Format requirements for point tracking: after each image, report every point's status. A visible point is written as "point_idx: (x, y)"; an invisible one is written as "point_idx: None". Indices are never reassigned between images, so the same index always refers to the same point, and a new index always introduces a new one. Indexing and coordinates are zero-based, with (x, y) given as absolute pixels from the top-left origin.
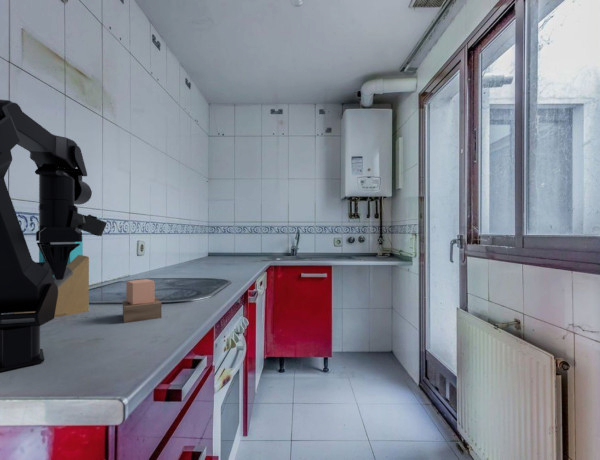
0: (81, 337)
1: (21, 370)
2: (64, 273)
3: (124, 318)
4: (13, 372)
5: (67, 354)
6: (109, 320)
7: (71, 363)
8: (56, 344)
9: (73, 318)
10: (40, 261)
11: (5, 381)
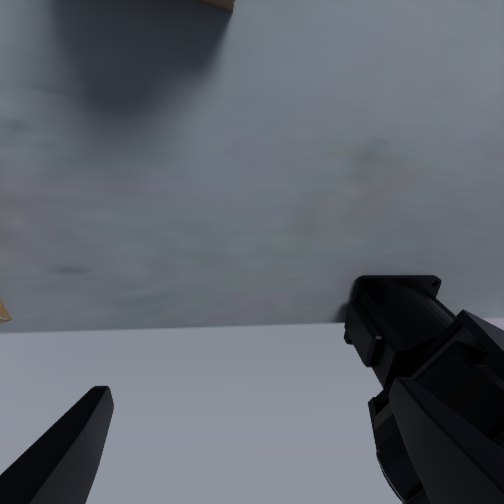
0: (310, 189)
1: None
2: (440, 402)
3: (231, 3)
4: None
5: (426, 235)
6: (139, 55)
7: (491, 235)
8: (324, 246)
9: (13, 172)
10: None
11: None
